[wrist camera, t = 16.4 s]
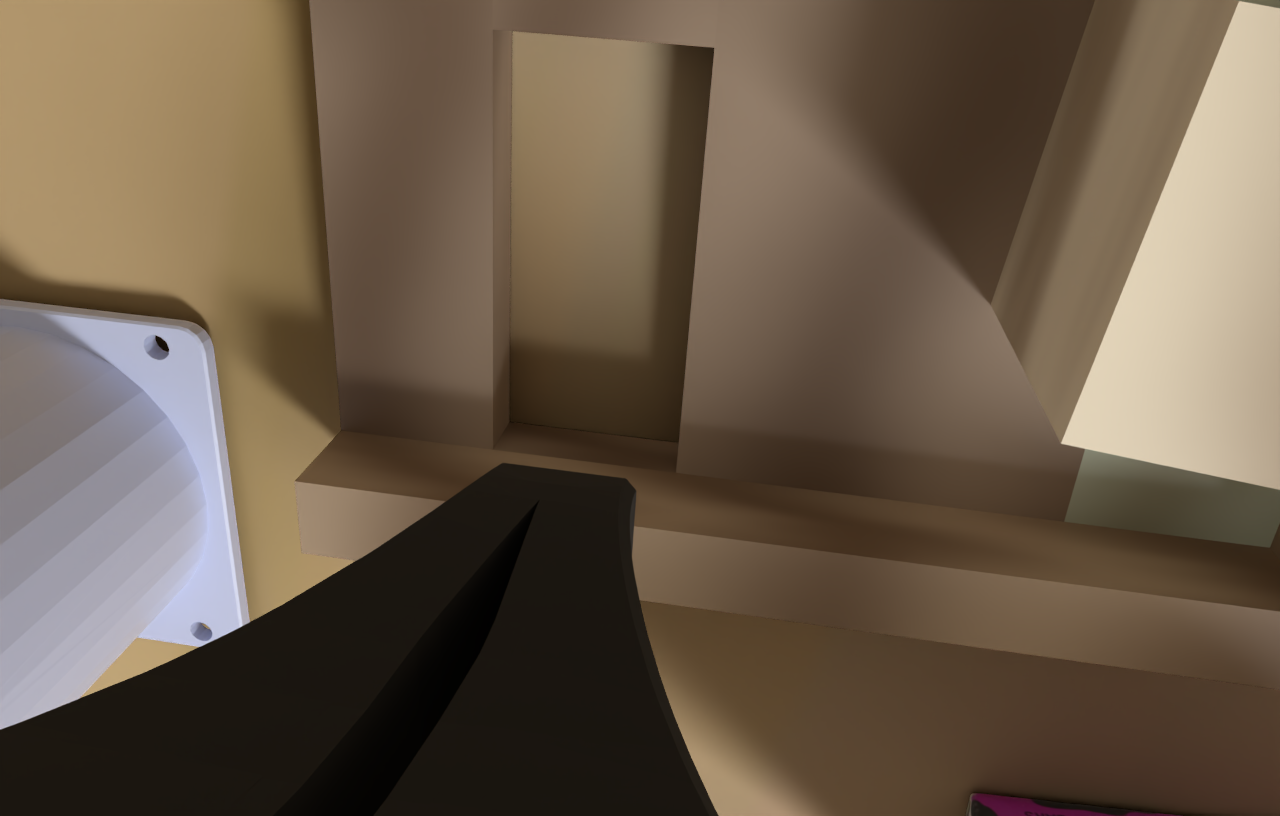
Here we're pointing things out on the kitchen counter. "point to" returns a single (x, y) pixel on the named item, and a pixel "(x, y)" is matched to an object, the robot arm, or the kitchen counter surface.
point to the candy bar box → (1040, 808)
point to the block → (1159, 242)
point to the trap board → (777, 334)
